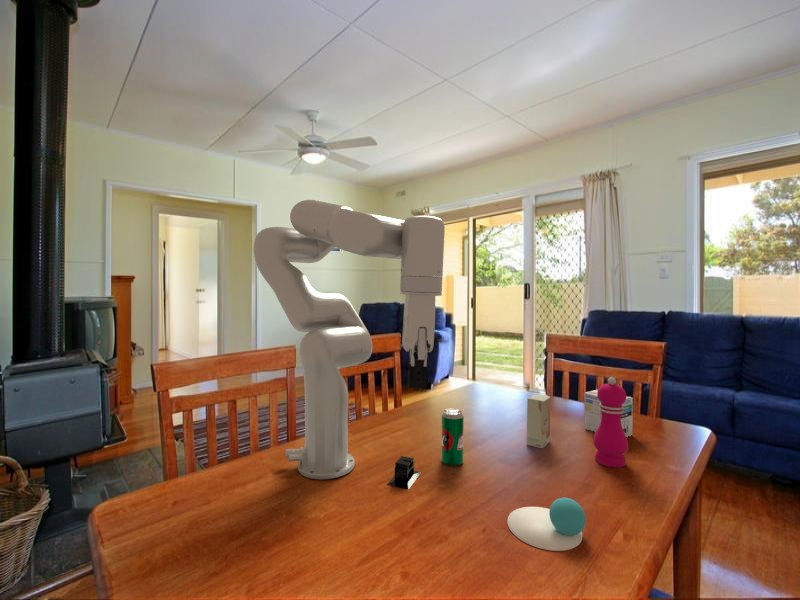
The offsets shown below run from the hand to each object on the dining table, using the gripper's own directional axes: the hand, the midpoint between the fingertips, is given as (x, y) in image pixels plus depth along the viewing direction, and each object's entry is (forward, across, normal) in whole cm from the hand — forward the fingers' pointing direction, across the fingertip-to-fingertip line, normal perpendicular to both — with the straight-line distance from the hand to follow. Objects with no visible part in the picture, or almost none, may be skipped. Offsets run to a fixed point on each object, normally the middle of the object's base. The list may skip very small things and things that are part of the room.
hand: (416, 386), depth 72 cm
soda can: (+23, -18, +11) cm, 31 cm away
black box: (+24, -11, -1) cm, 26 cm away
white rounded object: (+22, +8, +22) cm, 32 cm away
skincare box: (+23, -28, +36) cm, 51 cm away
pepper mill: (+22, -16, +48) cm, 55 cm away
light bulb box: (+22, -35, +58) cm, 72 cm away
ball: (+19, +9, +25) cm, 33 cm away
